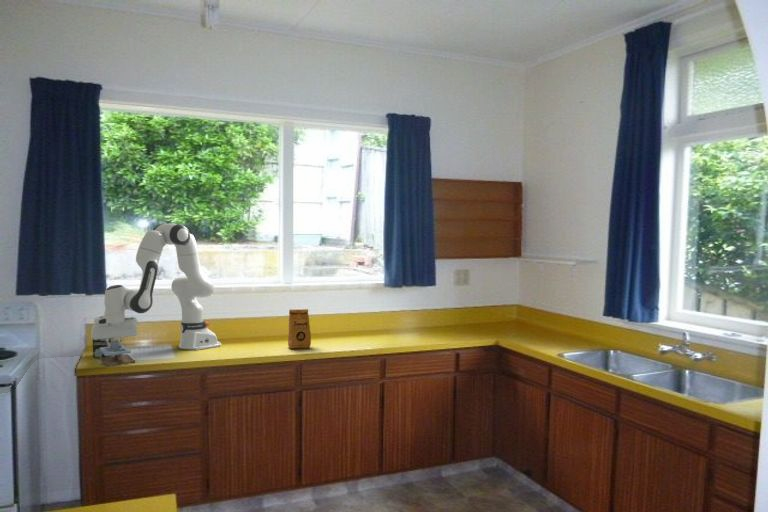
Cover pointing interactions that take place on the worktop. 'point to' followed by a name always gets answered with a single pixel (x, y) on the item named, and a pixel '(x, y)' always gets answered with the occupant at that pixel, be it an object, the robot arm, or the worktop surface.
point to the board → (115, 362)
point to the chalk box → (99, 344)
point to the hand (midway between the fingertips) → (114, 346)
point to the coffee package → (299, 329)
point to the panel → (116, 352)
